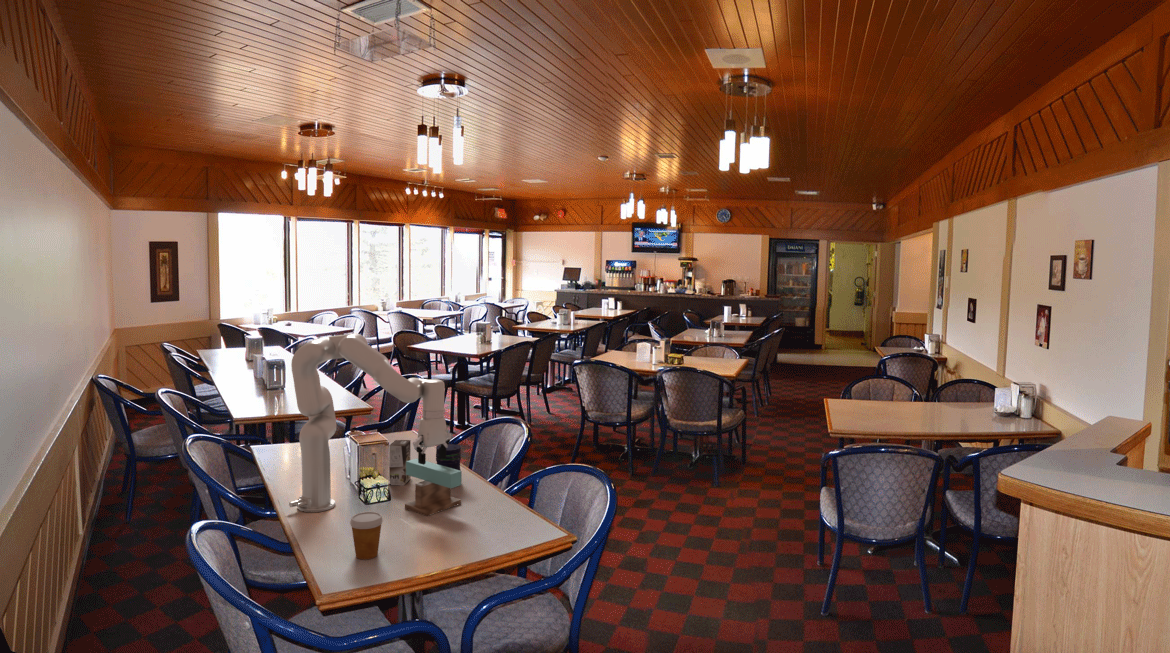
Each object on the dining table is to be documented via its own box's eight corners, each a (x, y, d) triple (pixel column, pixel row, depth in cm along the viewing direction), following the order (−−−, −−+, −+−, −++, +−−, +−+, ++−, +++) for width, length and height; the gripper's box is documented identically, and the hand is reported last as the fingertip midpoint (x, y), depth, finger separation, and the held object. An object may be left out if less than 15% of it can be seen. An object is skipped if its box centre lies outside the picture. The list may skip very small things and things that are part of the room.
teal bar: (406, 474, 258) (406, 461, 257) (416, 471, 262) (416, 458, 261) (450, 488, 244) (450, 474, 243) (461, 484, 248) (461, 471, 247)
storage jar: (430, 485, 276) (430, 448, 275) (443, 478, 286) (443, 442, 284) (453, 488, 273) (453, 451, 272) (465, 481, 282) (465, 445, 281)
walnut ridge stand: (427, 516, 244) (427, 488, 243) (404, 508, 251) (404, 481, 250) (461, 503, 257) (461, 477, 256) (438, 496, 264) (438, 471, 263)
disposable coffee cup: (386, 548, 216) (386, 511, 215) (378, 562, 206) (378, 522, 205) (355, 548, 215) (355, 510, 214) (345, 562, 206) (345, 522, 205)
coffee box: (405, 485, 275) (404, 445, 274) (388, 485, 276) (388, 445, 274) (411, 478, 285) (411, 439, 283) (395, 478, 285) (395, 439, 283)
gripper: (444, 409, 260) (443, 454, 261) (407, 416, 246) (406, 463, 247) (458, 412, 255) (457, 458, 257) (421, 419, 241) (420, 468, 243)
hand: (432, 460), depth 252 cm, fingers open, 9 cm apart
